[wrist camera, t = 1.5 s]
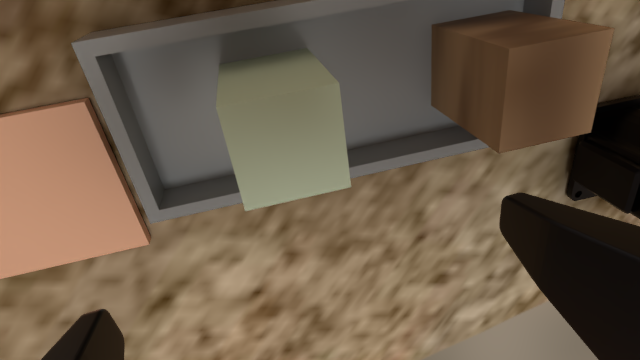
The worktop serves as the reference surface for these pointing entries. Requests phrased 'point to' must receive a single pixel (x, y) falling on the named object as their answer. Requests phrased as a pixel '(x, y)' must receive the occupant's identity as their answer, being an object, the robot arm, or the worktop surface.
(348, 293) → the worktop surface
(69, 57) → the worktop surface
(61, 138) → the coaster
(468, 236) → the worktop surface
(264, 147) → the sage block
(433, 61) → the walnut block
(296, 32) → the bin
